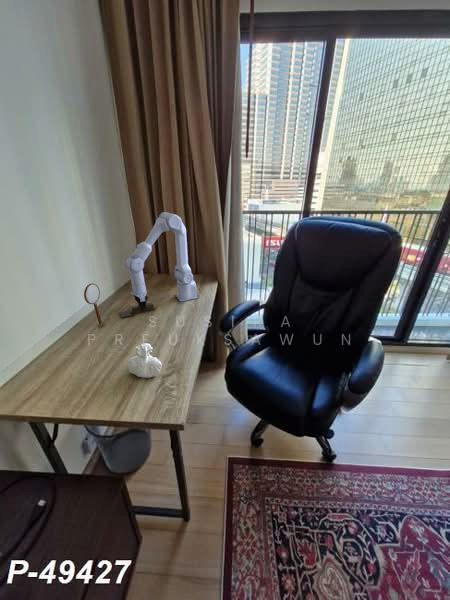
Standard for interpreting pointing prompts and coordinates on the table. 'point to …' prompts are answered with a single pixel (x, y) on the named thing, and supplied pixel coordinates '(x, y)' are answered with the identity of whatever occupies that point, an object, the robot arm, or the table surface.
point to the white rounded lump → (144, 362)
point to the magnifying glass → (93, 298)
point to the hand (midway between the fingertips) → (142, 308)
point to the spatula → (137, 310)
